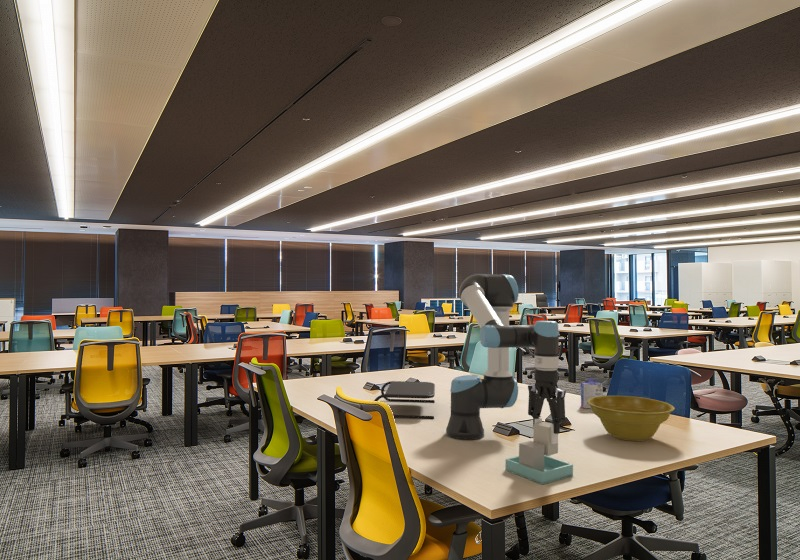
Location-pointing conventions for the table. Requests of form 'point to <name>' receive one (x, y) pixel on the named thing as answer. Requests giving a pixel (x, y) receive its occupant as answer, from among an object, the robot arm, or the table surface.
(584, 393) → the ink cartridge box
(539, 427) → the stone
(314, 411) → the table surface
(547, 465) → the bin
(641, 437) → the planter bowl
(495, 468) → the table surface
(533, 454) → the stone
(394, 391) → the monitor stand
